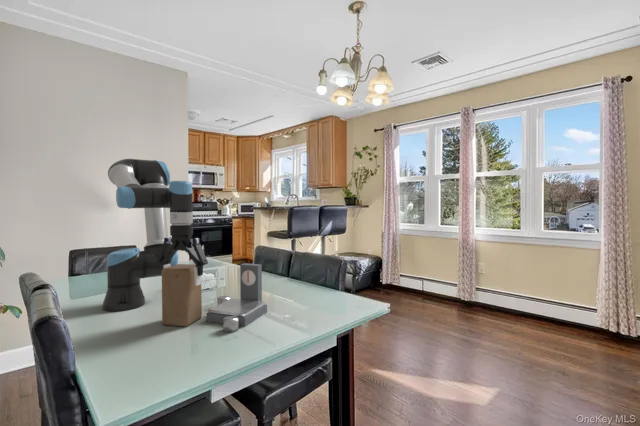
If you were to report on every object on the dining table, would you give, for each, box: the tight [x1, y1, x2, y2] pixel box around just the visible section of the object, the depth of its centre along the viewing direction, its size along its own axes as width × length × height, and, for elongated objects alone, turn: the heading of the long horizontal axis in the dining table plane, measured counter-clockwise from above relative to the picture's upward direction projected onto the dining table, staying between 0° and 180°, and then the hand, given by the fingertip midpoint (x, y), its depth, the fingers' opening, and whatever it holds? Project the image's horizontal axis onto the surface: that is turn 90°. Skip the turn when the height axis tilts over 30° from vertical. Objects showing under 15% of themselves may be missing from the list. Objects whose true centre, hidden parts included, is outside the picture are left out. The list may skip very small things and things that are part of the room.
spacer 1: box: [216, 295, 231, 306], centre depth 135 cm, size 5×5×4 cm
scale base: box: [206, 262, 268, 328], centre depth 125 cm, size 16×19×18 cm
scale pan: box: [208, 297, 266, 317], centre depth 124 cm, size 15×15×4 cm
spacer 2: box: [222, 316, 240, 334], centre depth 111 cm, size 5×5×4 cm
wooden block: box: [161, 263, 203, 327], centre depth 118 cm, size 10×10×20 cm
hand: (182, 283), depth 118 cm, fingers open, 13 cm apart
